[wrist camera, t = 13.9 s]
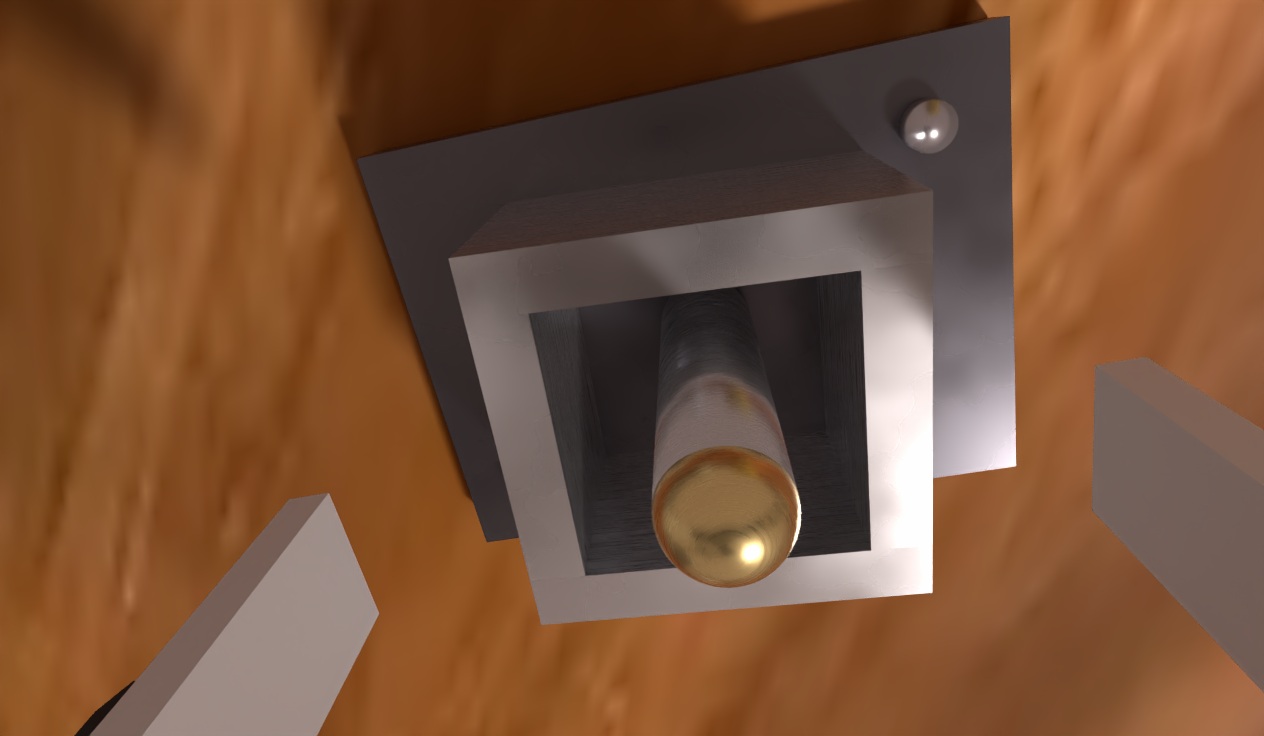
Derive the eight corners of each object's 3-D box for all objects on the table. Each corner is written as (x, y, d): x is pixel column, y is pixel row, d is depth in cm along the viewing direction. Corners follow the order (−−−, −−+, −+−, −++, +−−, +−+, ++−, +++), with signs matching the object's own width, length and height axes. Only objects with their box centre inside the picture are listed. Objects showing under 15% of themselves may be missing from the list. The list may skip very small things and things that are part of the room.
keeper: (495, 519, 25) (363, 865, 14) (373, 152, 20) (51, 269, 10) (999, 445, 23) (1273, 788, 12) (989, 17, 18) (1410, -16, 8)
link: (571, 496, 23) (541, 624, 18) (507, 202, 19) (448, 258, 14) (873, 466, 22) (932, 592, 17) (863, 150, 18) (933, 190, 13)
